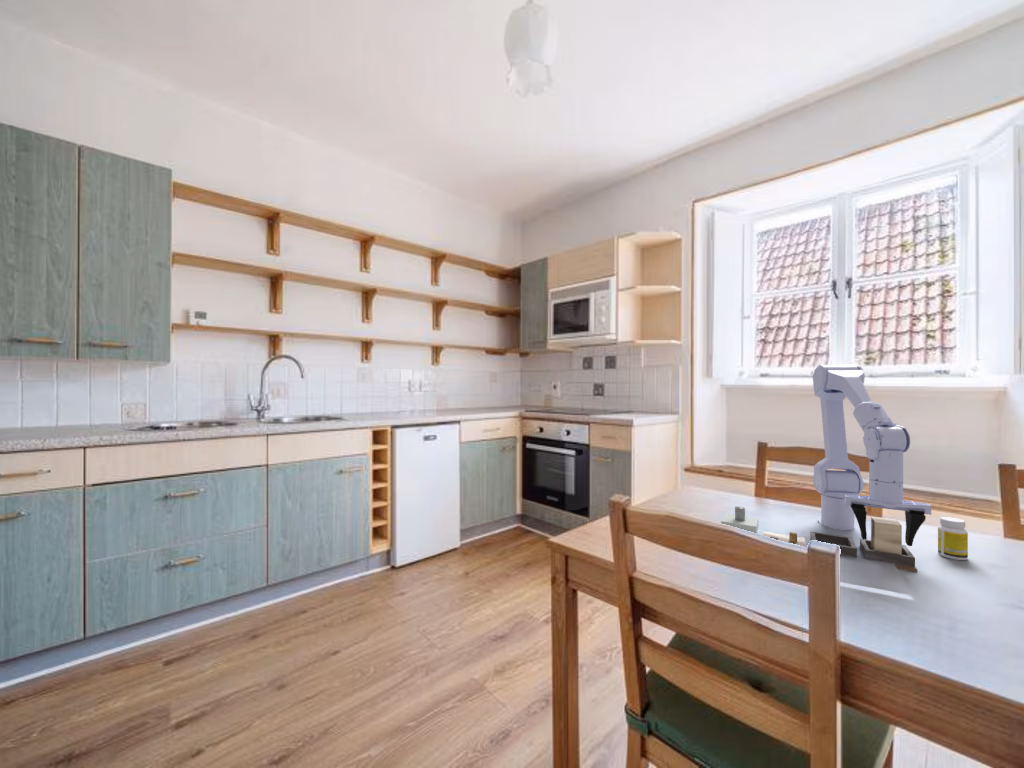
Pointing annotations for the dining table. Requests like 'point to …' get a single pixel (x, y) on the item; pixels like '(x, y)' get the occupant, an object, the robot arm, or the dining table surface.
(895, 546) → the maple peg
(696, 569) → the dining table surface
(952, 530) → the supplement bottle
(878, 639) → the dining table surface
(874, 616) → the dining table surface
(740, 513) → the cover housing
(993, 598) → the dining table surface
